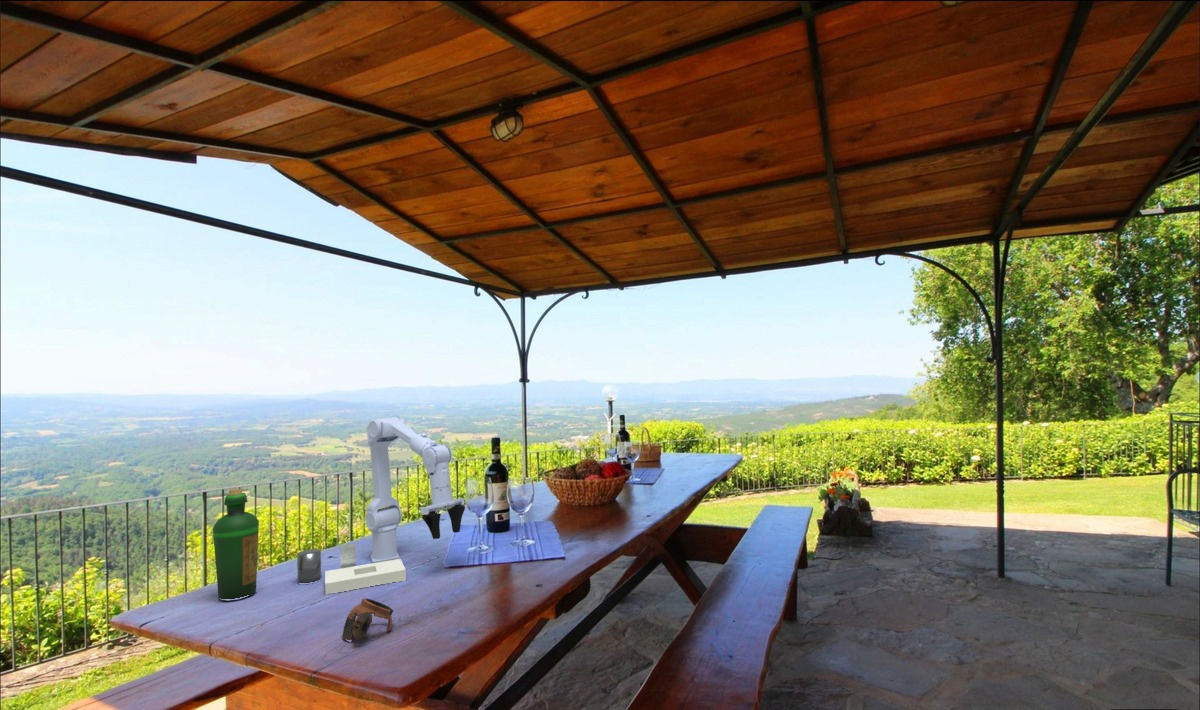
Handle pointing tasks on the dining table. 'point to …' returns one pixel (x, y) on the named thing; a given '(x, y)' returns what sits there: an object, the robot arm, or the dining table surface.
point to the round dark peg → (309, 565)
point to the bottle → (236, 548)
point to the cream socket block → (364, 576)
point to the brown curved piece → (365, 618)
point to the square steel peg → (347, 556)
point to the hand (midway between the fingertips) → (446, 535)
